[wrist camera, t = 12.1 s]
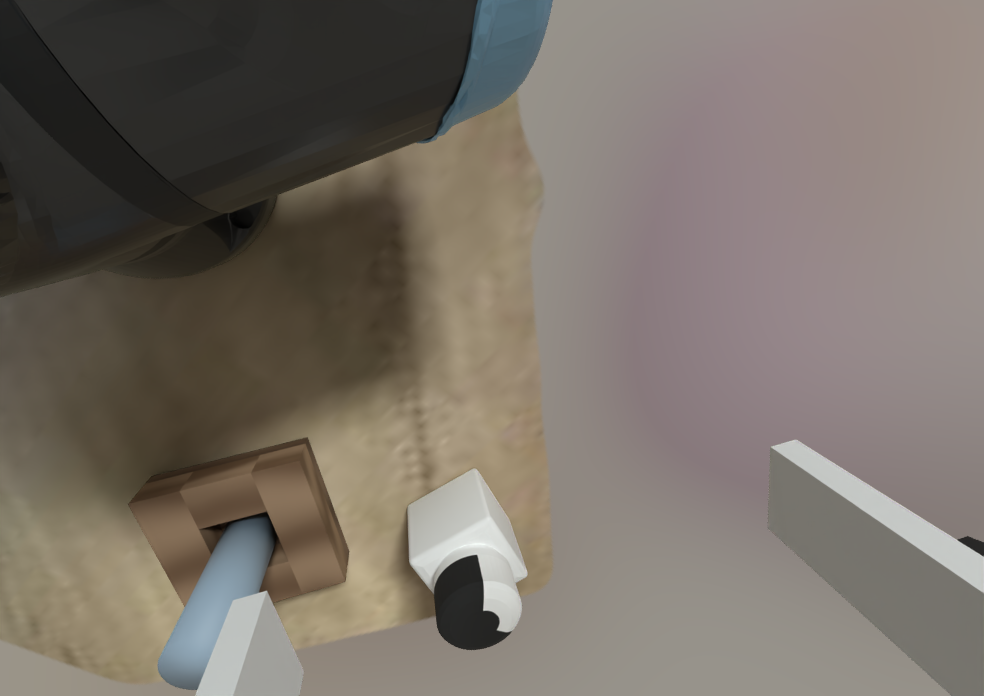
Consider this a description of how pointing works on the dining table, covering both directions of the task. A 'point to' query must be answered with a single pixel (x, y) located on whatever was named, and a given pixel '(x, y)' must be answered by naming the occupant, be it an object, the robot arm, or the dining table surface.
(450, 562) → the medicine bottle
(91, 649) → the dining table surface
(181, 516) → the socket block
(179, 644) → the pin
